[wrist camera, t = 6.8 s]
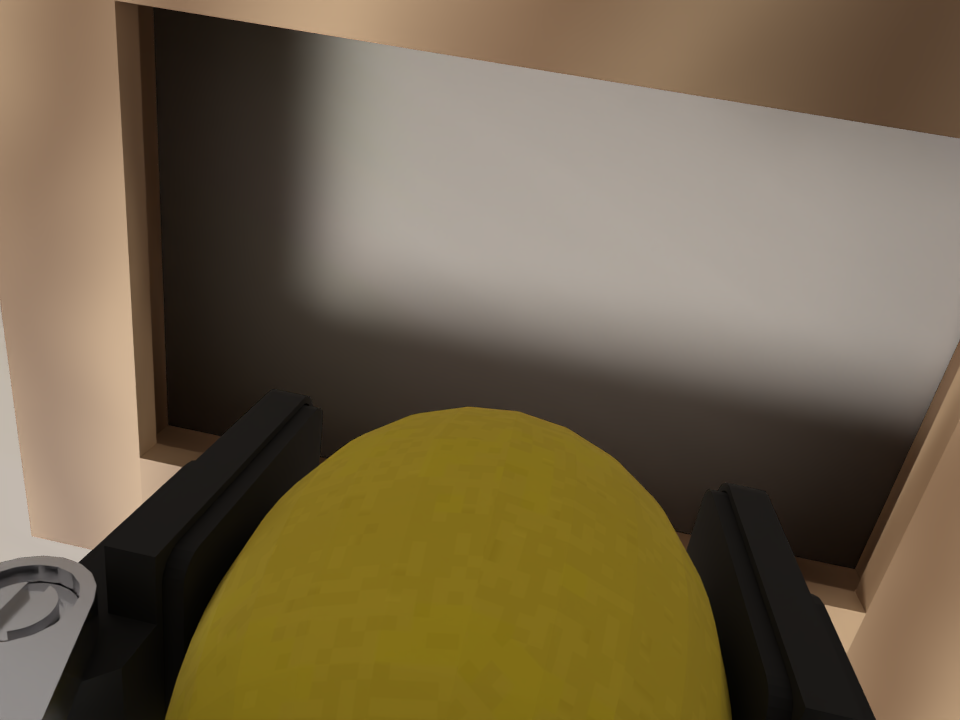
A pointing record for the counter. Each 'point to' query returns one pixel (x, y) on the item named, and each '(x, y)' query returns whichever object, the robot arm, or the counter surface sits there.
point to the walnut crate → (470, 34)
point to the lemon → (459, 589)
